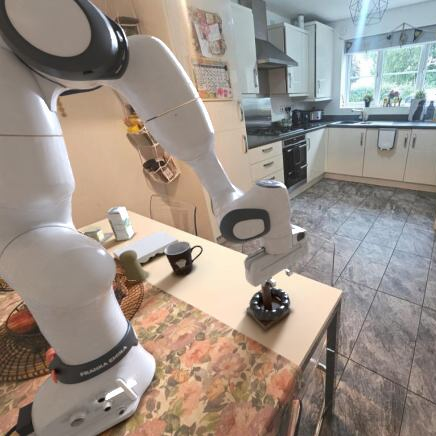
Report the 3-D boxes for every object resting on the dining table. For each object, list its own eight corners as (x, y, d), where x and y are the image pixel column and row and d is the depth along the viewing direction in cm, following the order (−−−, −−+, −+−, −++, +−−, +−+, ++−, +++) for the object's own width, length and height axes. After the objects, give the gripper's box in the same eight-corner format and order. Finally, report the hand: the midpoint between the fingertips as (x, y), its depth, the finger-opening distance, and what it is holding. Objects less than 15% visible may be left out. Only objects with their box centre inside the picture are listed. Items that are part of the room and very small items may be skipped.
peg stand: (265, 330, 65) (262, 301, 61) (247, 312, 71) (242, 284, 67) (290, 311, 71) (288, 283, 66) (271, 296, 77) (268, 269, 72)
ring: (266, 330, 64) (265, 323, 62) (242, 306, 71) (241, 299, 70) (298, 306, 71) (298, 299, 69) (273, 286, 78) (272, 280, 77)
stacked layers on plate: (112, 233, 119) (108, 223, 116) (100, 243, 111) (96, 233, 108) (91, 235, 118) (86, 225, 116) (78, 245, 110) (72, 234, 108)
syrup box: (121, 235, 117) (110, 207, 111) (135, 233, 118) (124, 206, 112) (116, 241, 112) (104, 212, 106) (130, 239, 113) (119, 211, 107)
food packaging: (131, 271, 92) (179, 245, 106) (127, 263, 90) (177, 239, 104) (115, 258, 100) (162, 236, 114) (112, 251, 99) (160, 230, 113)
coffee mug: (167, 278, 86) (159, 255, 82) (176, 264, 94) (170, 241, 90) (200, 276, 87) (194, 253, 82) (206, 262, 94) (201, 240, 90)
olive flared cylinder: (137, 284, 84) (127, 258, 79) (123, 282, 85) (111, 257, 81) (150, 273, 90) (140, 248, 85) (136, 272, 91) (126, 247, 86)
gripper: (250, 262, 56) (258, 306, 62) (311, 229, 68) (312, 268, 74) (236, 252, 60) (244, 294, 67) (295, 222, 72) (298, 260, 79)
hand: (281, 280), depth 70 cm, fingers open, 5 cm apart
